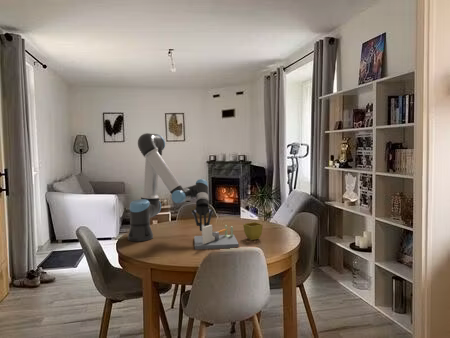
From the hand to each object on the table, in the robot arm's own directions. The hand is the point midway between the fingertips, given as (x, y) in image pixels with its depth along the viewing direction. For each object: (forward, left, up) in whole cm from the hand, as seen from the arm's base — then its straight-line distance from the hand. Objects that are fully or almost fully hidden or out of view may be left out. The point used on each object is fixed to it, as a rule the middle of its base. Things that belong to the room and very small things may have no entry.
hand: (203, 235), depth 201 cm
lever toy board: (+7, +4, -6) cm, 10 cm away
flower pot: (+30, +10, -6) cm, 32 cm away
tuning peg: (+7, +3, -3) cm, 8 cm away
